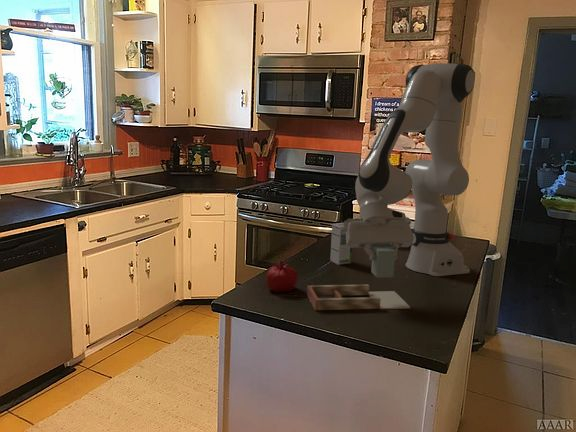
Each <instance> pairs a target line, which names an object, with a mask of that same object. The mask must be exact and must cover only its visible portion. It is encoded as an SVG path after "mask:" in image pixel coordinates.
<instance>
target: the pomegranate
mask: <svg viewBox="0 0 576 432" xmlns="http://www.w3.org/2000/svg"><path fill="white" fill-rule="evenodd" d="M283 262H284V260H279V263H278V264H279V266H278V265H277V264H271V266H272V267H270V268H269V269H268V270H267V272H266V274H265V281H266V285H267V288H268V289H269V290H270V291H271V292H275V293H287V292H288V293H289V292H291V291H293V290H294V289H295V288H296V286H297V284H298V282H299V273H298V272H297V270H296V269H295V268H294V267H293V266H291V265H290V263H286V264H285V265H283V264H284V263H283ZM288 265H290V266H288Z"/></svg>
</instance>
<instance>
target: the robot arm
mask: <svg viewBox="0 0 576 432" xmlns="http://www.w3.org/2000/svg"><path fill="white" fill-rule="evenodd" d="M475 80H476V75H475V71H474V69H473V68H472V66H471V65H468V64H466V63H465V64H464V63H458V64H457V63H450V62H449V63H448V62H440V63H430V64H422V63H421V64H418V65H417V64H416V65H414V66H412V67H411V68H410V69H409V71H408V72H407V74H406V77H405V90H404V92H403V95H402V96H401V100H400V103H399V105H398V107H397V108H396V109H395V110H392V111H391V112H390V114H388V115H387V117H386V119H385V120H384V123H383V125H382V126H381V128H380V129H379V132H378V135H377V137H376V139H375V140H374V142H373V145H372V146H371V148H370V150H369V153H368V155H367V156H366V157H365V159H364V160H363V161H362V163H361V165H360V167H359V169H358V176H357V178H356V180H355V185H354V189H355V196H356V202H357V205H358V206H359V210H358V213H359V216H360V217H359V218H347V219H346V220H344V221H343V222H342V223H343V225H344V229H345V231H346V244H347V246H348V247H350V248H352V249H355V248H363V250H364V252H365V253H366V254H367V255H368V256H369V261H372V260H375V259H376V253H375V252H373V249H371V248H373V246H390V247H391V248H393V249H394V250H395V260H397V259H398V253H397V252H398V250H399V248H409V247H410V250H409V255H408V258H407V260H406V263H405V267H406V268H407V269H409V270H412V271H413V272H418V273H421V274H427V275H430V276H434V277H445V276H453V275H464V274H470V273H471V270H470V268H469V267H468V266H467V265H466V264H465V261H464V254H463V253H462V252H461V251H460V250H459V249H458V248H457V247H455V246H454V244H452V242H450V240H451V241H454V240H455V239H456V238H457V237H456V235H455V234H453V233H449V232H448V231H447V226H448V224H447V222H448V217H449V211H448V208H447V206H446V205H445V204H444V203H443V200H442V198H441V195H442V196H447V197H448V196H451V197H452V196H459V195H462V194H463V193H464V192H465V191H466V190H467V188H468V186H469V182H470V175H469V173H468V171H467V169H466V168H465V167H464V165H463V163H462V161H461V157H460V153H459V138H460V130H461V122H462V117H463V116H462V115H463V101H464V99H465V98H467V97H468V96H469V95H471V93H472V92H473V89H474V88H475V87H474V86H475V83H476V82H475ZM422 131H425V134H424V143H425V146H427V148H428V149H429V151H430V154H431V159H417V160H412V161H411V162H409V163H408V164H407V166H406V168H405V171H404V170H402V169H400V168H398V167H396V166H395V165H394V164H393V163H391V161H390V156H391V154H392V152H393V151H394V148H395V146H396V144H397V141H398V139H399V137H400V136H401V135H402V134H403V133H408V134H410V133H411V134H412V133H414V134H416V133H420V132H422ZM411 191H412V195H413V199H414V207H415V212H414V224H413V225H414V227H413V228H411V226H410V225H411V224H410V225H409V224H408V222H407V221H405V218H406V217H407V216H406V213H405V212H403V211H400V210H399V211H398V210H395V209H392V208H390V207H388V206H389V205H393V204H396V203H398V202H401V201H403V200H404V199H406V198H407V197H408V196H409V195H410V193H411ZM360 218H361V219H360Z"/></svg>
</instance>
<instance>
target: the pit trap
mask: <svg viewBox="0 0 576 432" xmlns="http://www.w3.org/2000/svg"><path fill="white" fill-rule="evenodd" d="M311 285H312V284H311ZM311 285H310V284H309V285H308V284H307V286H306V289H307V290H306V295H307V297H308V300H309V302H310V303H311V305H312V307H313V309H314V311H320V310H319V299H318V298H343V296H341V295H340V294H339V292H338V291H337V290H333V295H316V294H315V292H314V290H313V289H312V287H311Z"/></svg>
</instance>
